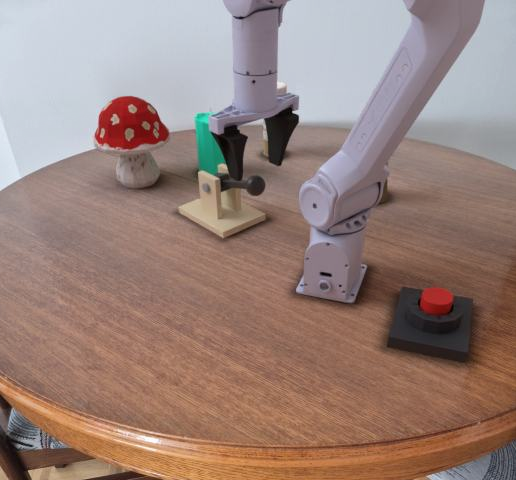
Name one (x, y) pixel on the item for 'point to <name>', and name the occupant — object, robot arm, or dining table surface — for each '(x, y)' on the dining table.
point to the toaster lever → (242, 183)
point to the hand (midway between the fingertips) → (255, 171)
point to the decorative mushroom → (132, 139)
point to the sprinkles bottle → (280, 90)
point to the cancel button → (436, 301)
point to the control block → (431, 327)
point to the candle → (207, 145)
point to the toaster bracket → (220, 207)
